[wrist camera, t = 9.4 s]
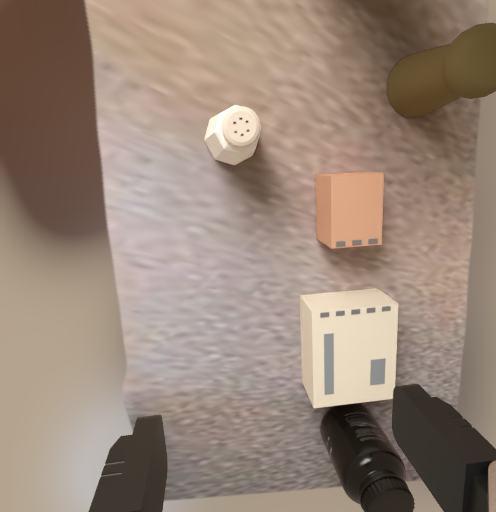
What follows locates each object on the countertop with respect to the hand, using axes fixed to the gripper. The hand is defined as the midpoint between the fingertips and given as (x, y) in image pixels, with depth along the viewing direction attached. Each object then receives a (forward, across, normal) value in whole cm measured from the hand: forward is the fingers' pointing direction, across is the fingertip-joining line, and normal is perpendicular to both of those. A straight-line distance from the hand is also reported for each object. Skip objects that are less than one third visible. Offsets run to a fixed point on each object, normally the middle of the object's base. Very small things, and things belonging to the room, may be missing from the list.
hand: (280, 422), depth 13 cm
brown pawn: (+28, -20, -15) cm, 38 cm away
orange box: (+28, -12, -4) cm, 31 cm away
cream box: (+28, -12, +12) cm, 33 cm away
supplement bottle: (+28, -13, +24) cm, 39 cm away
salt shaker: (+28, -1, -11) cm, 30 cm away
